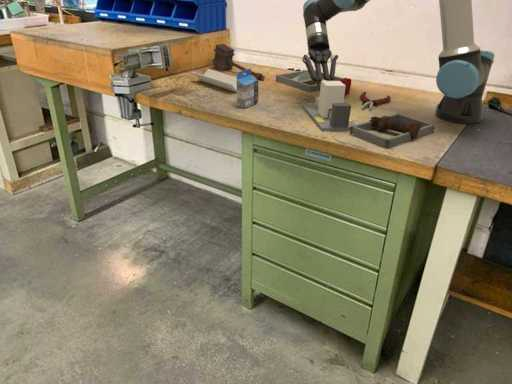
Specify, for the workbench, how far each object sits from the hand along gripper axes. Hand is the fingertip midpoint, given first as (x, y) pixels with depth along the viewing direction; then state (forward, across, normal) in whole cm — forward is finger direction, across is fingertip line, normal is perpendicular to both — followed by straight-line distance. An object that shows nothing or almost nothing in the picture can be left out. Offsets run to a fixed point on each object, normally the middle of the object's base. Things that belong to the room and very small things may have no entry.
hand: (325, 99), depth 143 cm
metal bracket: (-27, -5, -36) cm, 45 cm away
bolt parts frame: (+17, -16, +10) cm, 26 cm away
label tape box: (-5, +25, -13) cm, 29 cm away
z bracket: (-24, +32, -32) cm, 52 cm away
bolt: (+17, -16, +10) cm, 26 cm away
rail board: (+6, 0, -2) cm, 6 cm away
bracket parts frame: (-27, -7, -34) cm, 44 cm away
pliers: (-5, -21, -14) cm, 26 cm away
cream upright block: (+6, 0, 0) cm, 6 cm away
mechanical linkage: (-15, -16, -24) cm, 32 cm away
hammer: (-39, +23, -47) cm, 65 cm away
